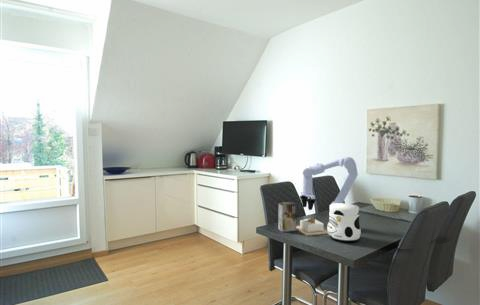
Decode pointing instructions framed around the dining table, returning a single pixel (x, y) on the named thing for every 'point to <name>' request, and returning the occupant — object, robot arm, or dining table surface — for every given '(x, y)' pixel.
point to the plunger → (311, 219)
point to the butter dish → (311, 227)
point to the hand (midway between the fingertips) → (307, 208)
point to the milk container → (344, 222)
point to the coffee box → (287, 216)
